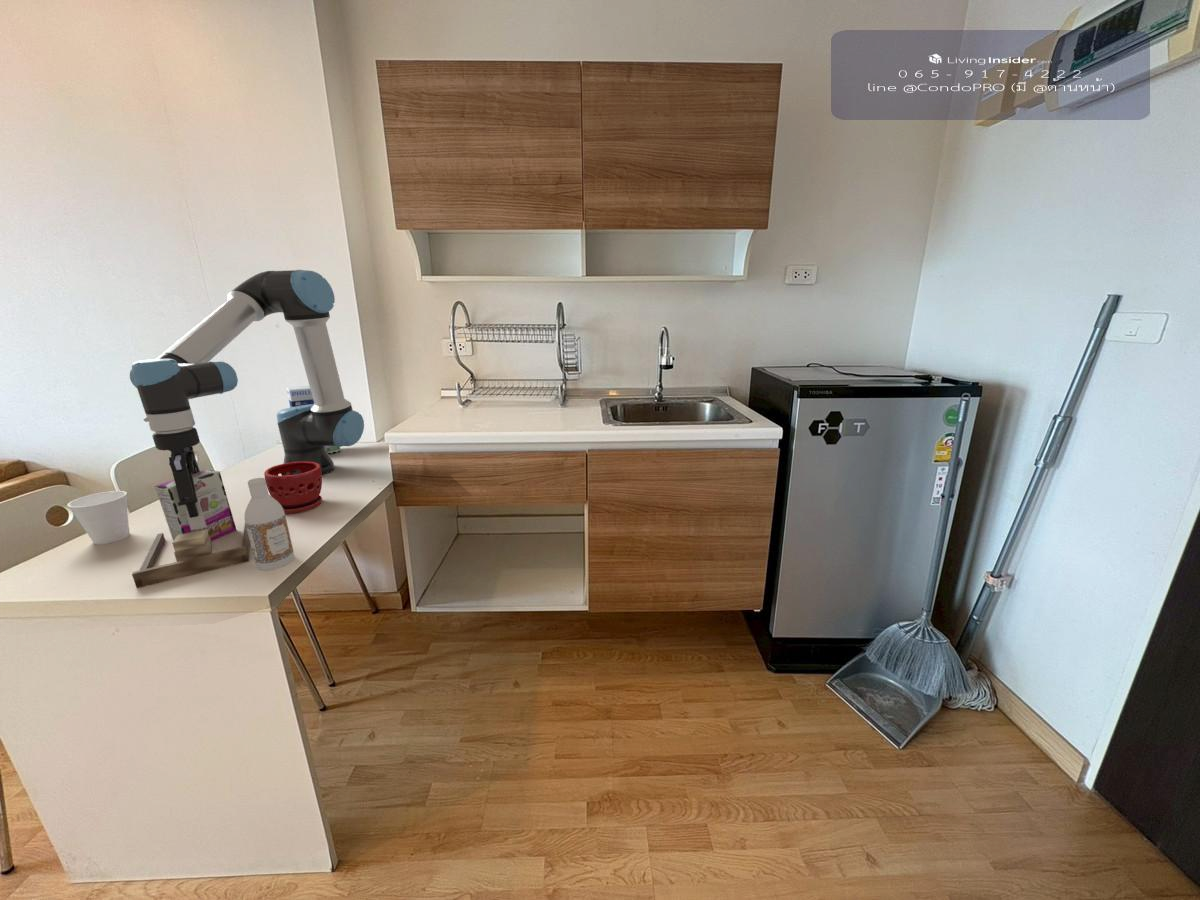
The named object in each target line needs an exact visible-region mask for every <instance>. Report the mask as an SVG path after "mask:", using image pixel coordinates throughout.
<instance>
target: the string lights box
mask: <svg viewBox="0 0 1200 900" xmlns="http://www.w3.org/2000/svg"><path fill="white" fill-rule="evenodd" d="M286 394H287V399H288V403H289V408H291V407H296V406H302V405H309V404H314V400H313V397H312V393H311V389H310V386H309V385H305V386H304V385H303V386H295V387H286ZM324 446H325V449H326V451H327V453H330V454H334V453H333V452H336V453H339V452H338V451H341V447H337V446H326V445H324ZM341 452H342V451H341Z"/></svg>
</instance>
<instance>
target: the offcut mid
mask: <svg viewBox="0 0 1200 900" xmlns="http://www.w3.org/2000/svg"><path fill="white" fill-rule="evenodd" d="M212 546H213V544H212V541H211V540H210V536H209V539H208V541H207V543H206V545H205V546H200V547H195V548H189V549H184V550H179V551H175V550H174V551H173V554H174V557H175V561H177V562H178V561H183V560H187V559H192V558H196V557H200V556H205V555H209V554H212Z"/></svg>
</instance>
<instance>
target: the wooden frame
mask: <svg viewBox="0 0 1200 900" xmlns="http://www.w3.org/2000/svg"><path fill="white" fill-rule="evenodd" d="M243 528H244V529H243V533H242V534H243V537H242V544H241V546H240V547H236V548H232V549H228V550H227V549H226V550H222V551H218V552H216V553H213V554H209V555H205V556H200V557H196V558H192V559H187V560H183V561H178V562H176V561H175V562H171V563H167V564H162V565H157V566H153V565H155V563H156V561H157V559H158V557H159V555H160V552H161V550H162V548H163V547H164V543H165V542H166V538H165V534H164V532H161V533H157V534H156V536H155V538H154V540H153V542H152V544H151V546H150V548H149V549H150V550H149V549H148V552H147V554H146V556H145V558H144V559H143V560H144V561H143V562H142V564H141V566H140V568H139V570H136V571H132V573H131V576H132V578H133V581H134V585H135V587H136V589H139V587H140V588H144V587H148V586H152V585H156V584H159V583H165V582H169V581H172V580H177V579H182V578H185V577H188V576H193V575H197V574H201V573H205V572H210V571H214V570H218V569H223V568H226V567H231V566H235V565H238V564H243V563H247V562H249V561H250V551H251V550H250V549H251V544H250V540H249V536H248V532H247V528H246V524H245V523H244V526H243ZM147 585H148V586H147Z"/></svg>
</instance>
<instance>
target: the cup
mask: <svg viewBox="0 0 1200 900" xmlns="http://www.w3.org/2000/svg"><path fill="white" fill-rule="evenodd" d="M127 495H128V492H127V491H125V490H124V491H123V490H112V491H111V490H109V491H104V492H103V491H102V492H96V493H92V494H87V495H85V496H82V497H78V498H76V499H73V500H71V501H70V502H68V503H67V505H66V506H67V508H69V509H70V511H71V512H72V513H73V515H74V517H75V518H76V519H77V521H78V522H79V524H80V525H81V526H82V528H83V529H84V531H85V532H86V534H87V535H88V537H89V538H90V539H91V540H90V541H91V542H92V543H93V544H94V545H106V544H111V543H115V542H118V541H121V540H124V539H126V538H128V537H129V536H130V535H131V533H130V526H129V525H130V524H129V515H128V514H129V513H128V500H127Z"/></svg>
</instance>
